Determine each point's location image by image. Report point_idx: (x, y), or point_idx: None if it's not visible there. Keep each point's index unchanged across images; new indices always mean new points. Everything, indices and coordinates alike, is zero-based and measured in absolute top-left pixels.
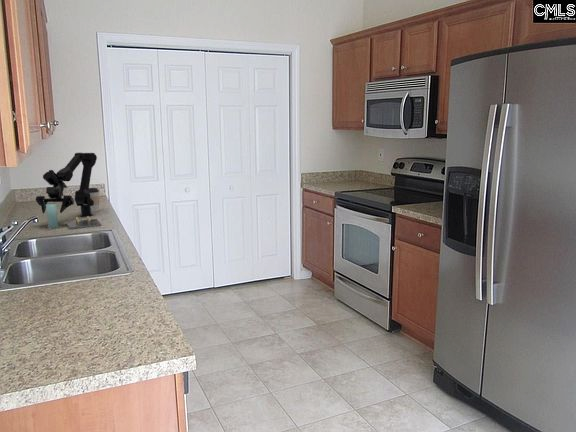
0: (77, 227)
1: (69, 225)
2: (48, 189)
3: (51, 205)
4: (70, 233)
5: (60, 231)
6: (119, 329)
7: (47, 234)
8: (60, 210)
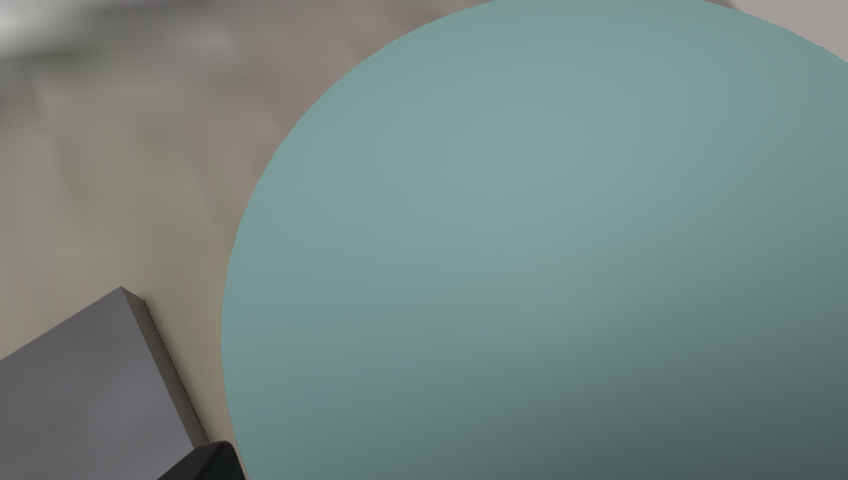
0: (9, 366)
1: (171, 454)
2: None
3: (385, 71)
4: (63, 94)
5: (244, 181)
6: None
7: (347, 24)
8: (187, 471)
